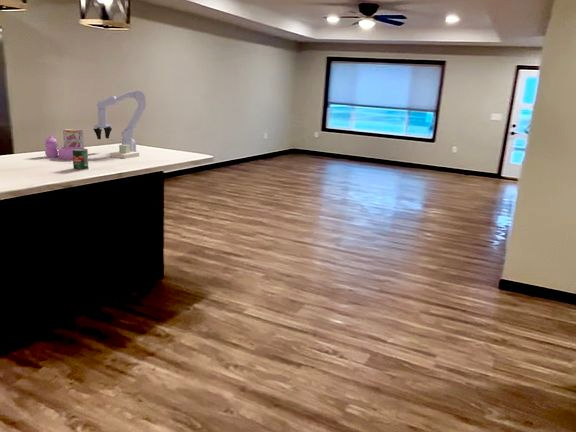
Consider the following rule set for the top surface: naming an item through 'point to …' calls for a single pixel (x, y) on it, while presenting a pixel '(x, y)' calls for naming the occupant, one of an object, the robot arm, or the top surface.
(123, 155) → the cream block
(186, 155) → the top surface
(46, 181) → the top surface
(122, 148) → the sage cube
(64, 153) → the container set
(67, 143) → the candy bar box
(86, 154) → the canned tomato
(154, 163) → the top surface
